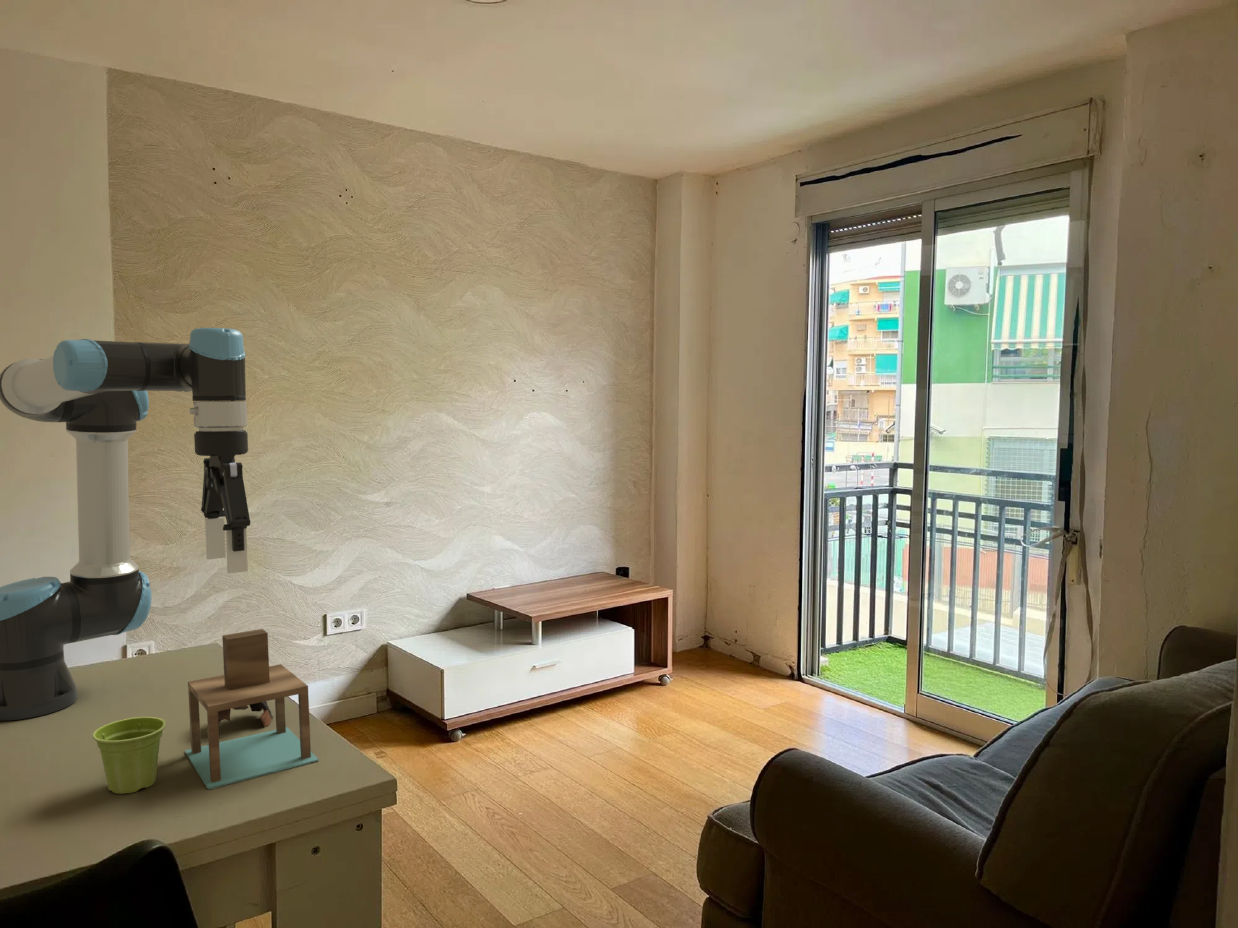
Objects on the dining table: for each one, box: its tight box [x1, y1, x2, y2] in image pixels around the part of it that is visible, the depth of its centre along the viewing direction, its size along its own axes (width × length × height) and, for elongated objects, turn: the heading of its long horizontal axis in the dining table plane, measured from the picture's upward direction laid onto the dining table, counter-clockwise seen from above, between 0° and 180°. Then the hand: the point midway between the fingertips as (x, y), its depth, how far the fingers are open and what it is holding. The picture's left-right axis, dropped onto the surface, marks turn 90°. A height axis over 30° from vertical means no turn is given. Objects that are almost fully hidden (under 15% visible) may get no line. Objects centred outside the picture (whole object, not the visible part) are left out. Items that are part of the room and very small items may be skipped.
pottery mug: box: [218, 701, 274, 728], centre depth 153 cm, size 12×10×8 cm
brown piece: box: [187, 628, 312, 783], centre depth 137 cm, size 14×14×20 cm
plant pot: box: [92, 716, 167, 795], centre depth 128 cm, size 9×9×9 cm
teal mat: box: [185, 726, 319, 790], centre depth 138 cm, size 17×16×1 cm
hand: (226, 565), depth 136 cm, fingers open, 13 cm apart
